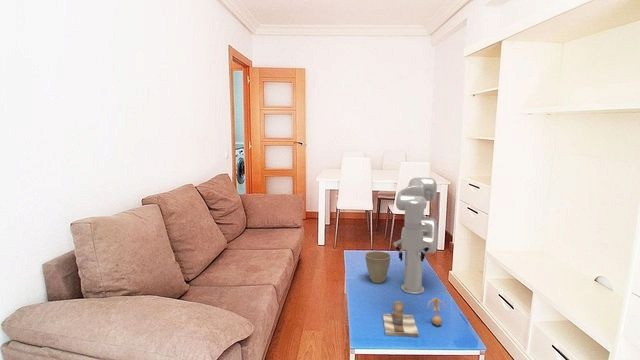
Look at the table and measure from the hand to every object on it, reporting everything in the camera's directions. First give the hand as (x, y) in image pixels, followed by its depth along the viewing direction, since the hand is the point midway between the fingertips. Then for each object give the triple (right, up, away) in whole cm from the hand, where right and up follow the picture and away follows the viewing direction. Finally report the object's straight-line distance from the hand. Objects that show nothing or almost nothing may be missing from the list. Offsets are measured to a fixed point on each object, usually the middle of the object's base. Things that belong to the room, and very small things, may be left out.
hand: (411, 260), depth 171 cm
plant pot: (-9, -22, +43) cm, 49 cm away
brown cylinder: (-8, -27, -7) cm, 29 cm away
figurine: (+10, -29, -5) cm, 31 cm away
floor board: (-7, -29, -7) cm, 30 cm away
